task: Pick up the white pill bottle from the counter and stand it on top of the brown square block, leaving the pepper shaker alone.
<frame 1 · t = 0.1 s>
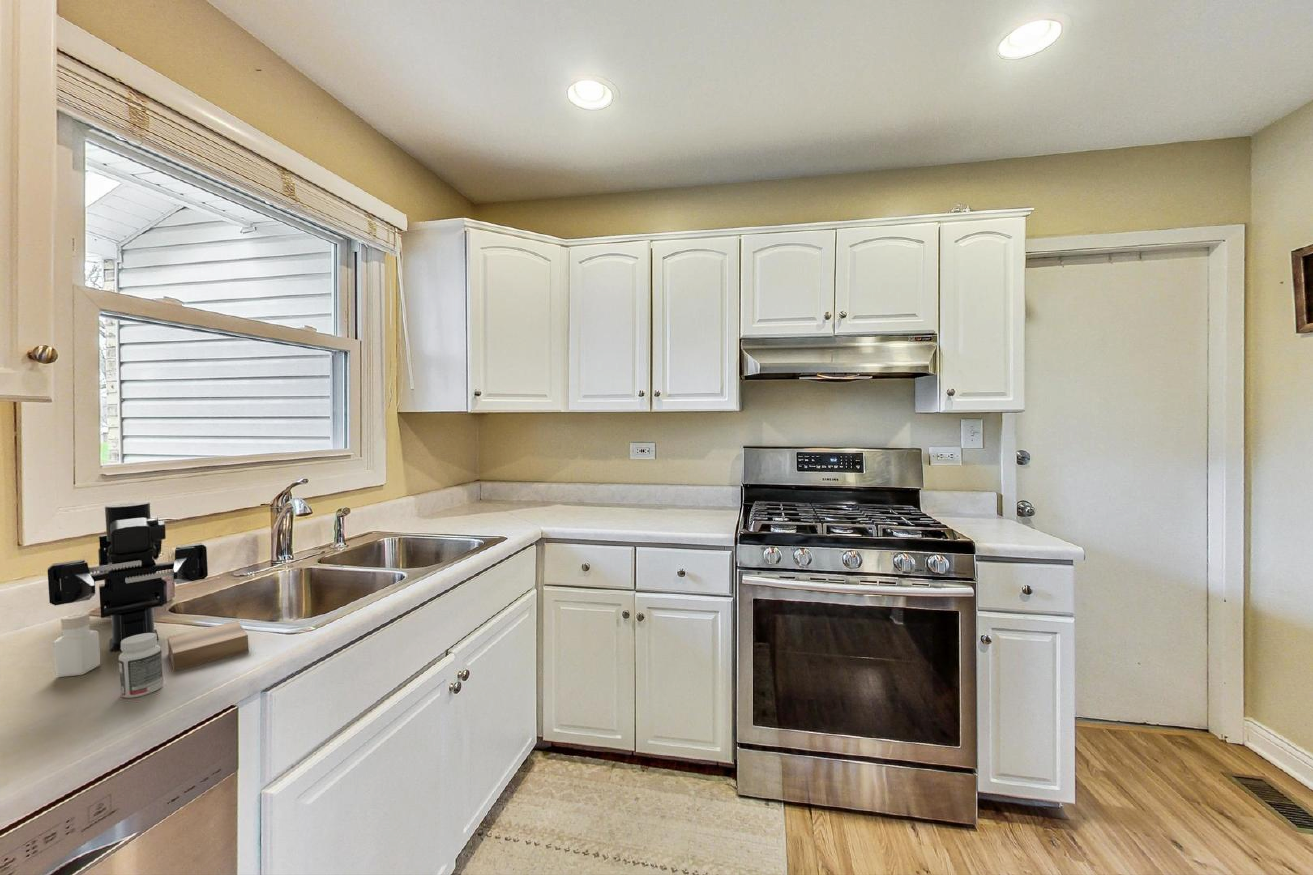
hand: (136, 582, 83), 17 cm above the countertop, tool horizontal, fingers open, 9 cm apart
pill bottle: (142, 691, 83), on the countertop
brown square block: (208, 652, 96), on the countertop
pepper shaker: (78, 672, 90), on the countertop
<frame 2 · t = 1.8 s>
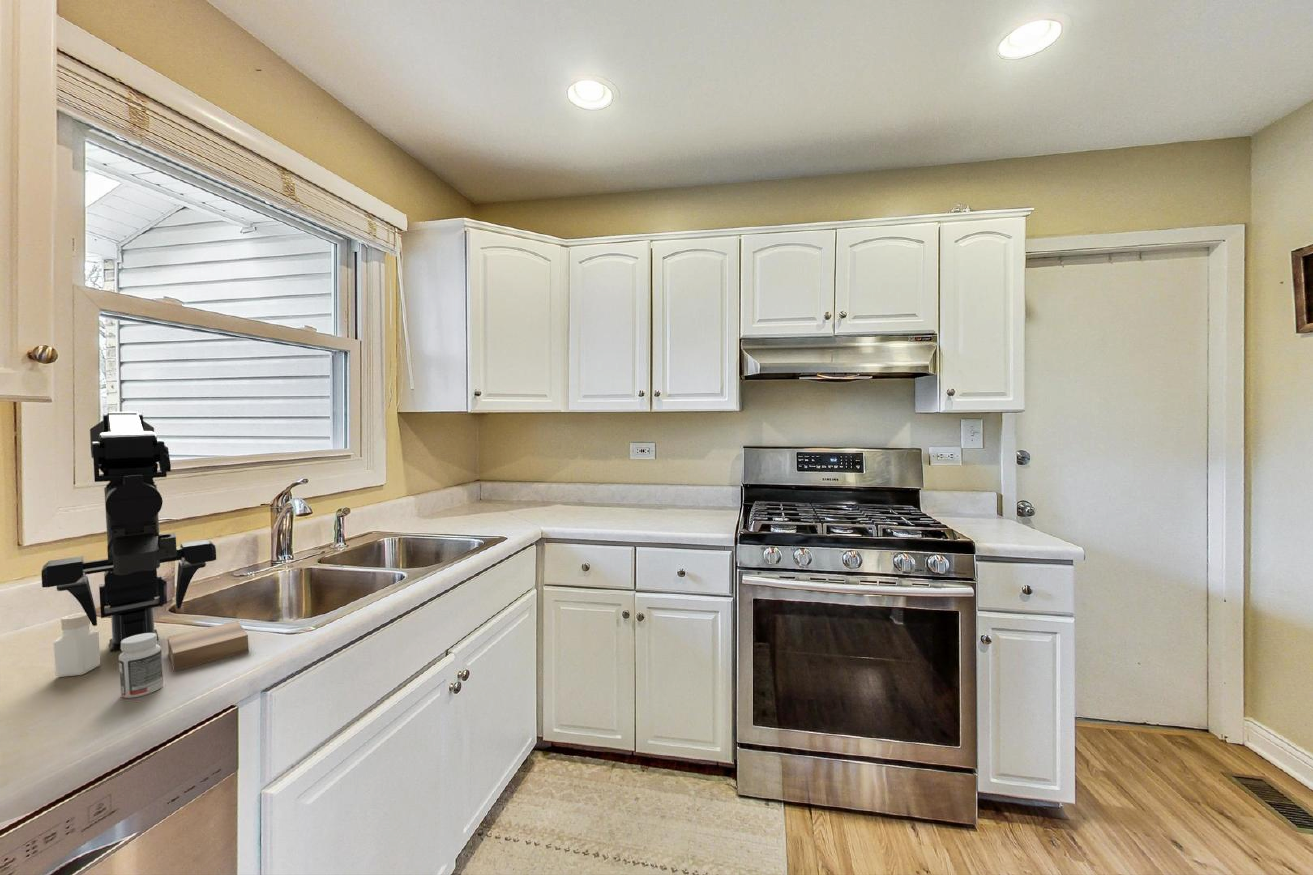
hand: (138, 616, 83), 12 cm above the countertop, tool pointing down, fingers open, 9 cm apart
nothing on the countertop moved.
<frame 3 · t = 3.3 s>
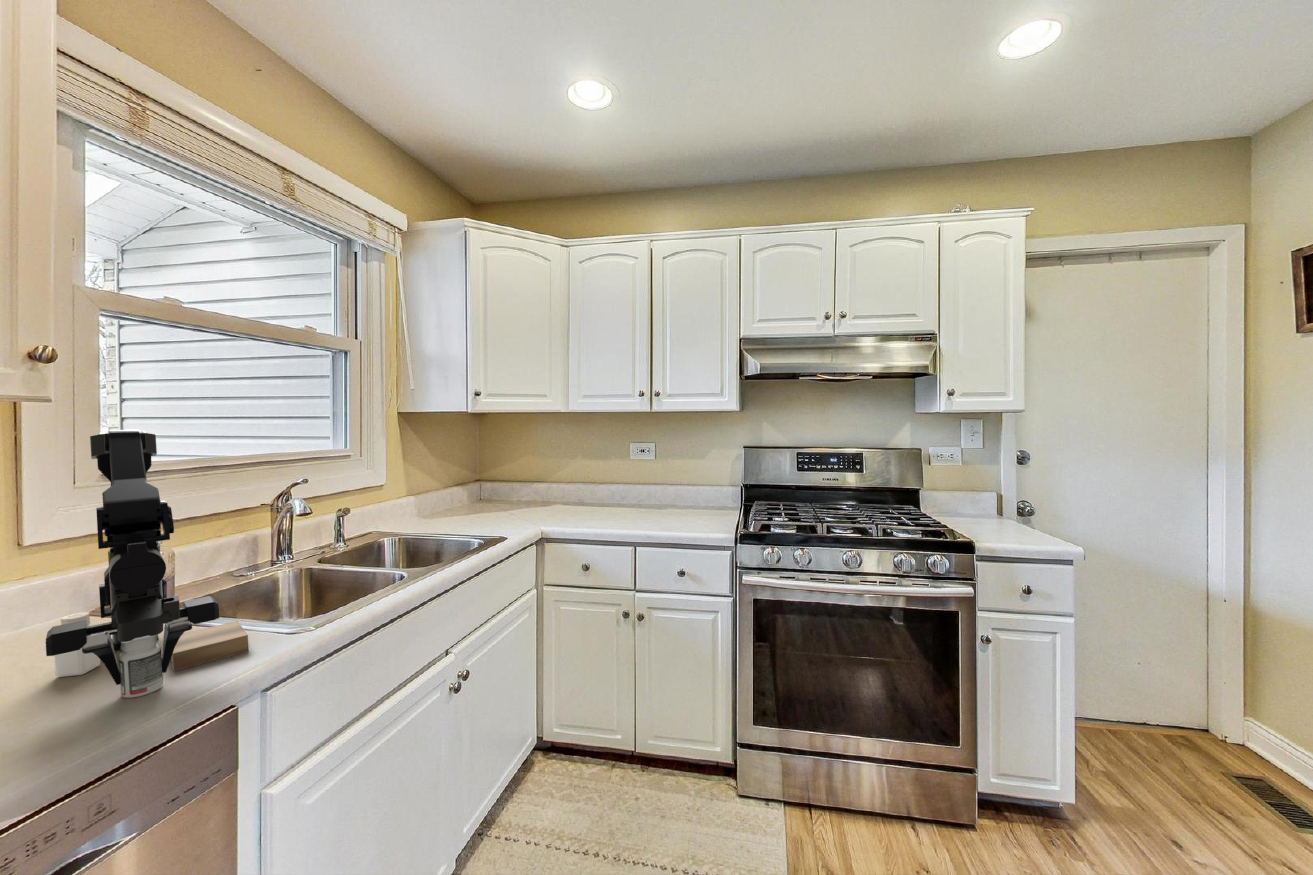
hand: (141, 677, 83), 2 cm above the countertop, tool pointing down, fingers closed on pill bottle, 5 cm apart
pill bottle: (142, 691, 83), on the countertop, touching gripper
everything else where it was.
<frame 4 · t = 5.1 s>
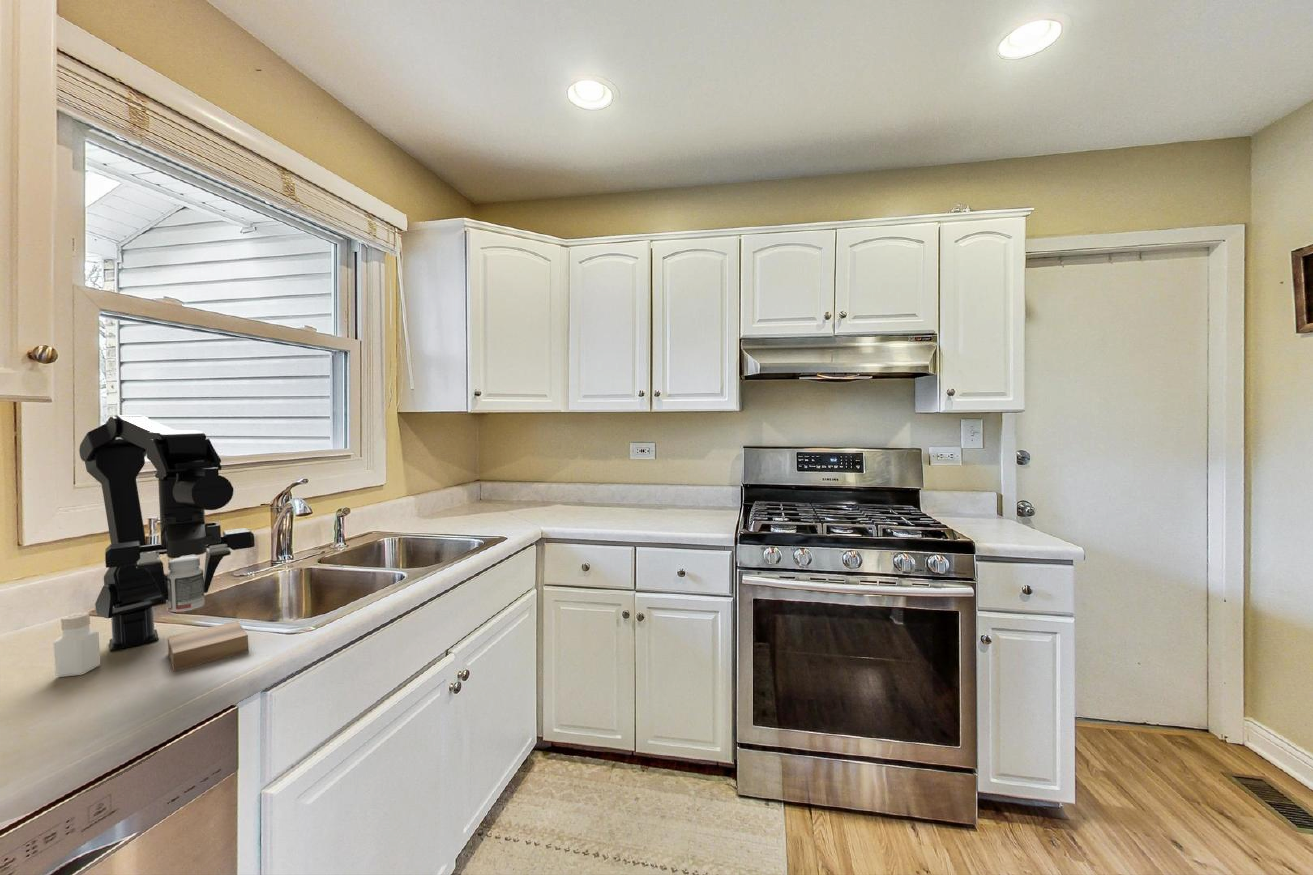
hand: (186, 595, 92), 12 cm above the countertop, tool pointing down, fingers closed on pill bottle, 5 cm apart
pill bottle: (186, 608, 92), point 9 cm above the countertop, touching gripper
everything else where it was.
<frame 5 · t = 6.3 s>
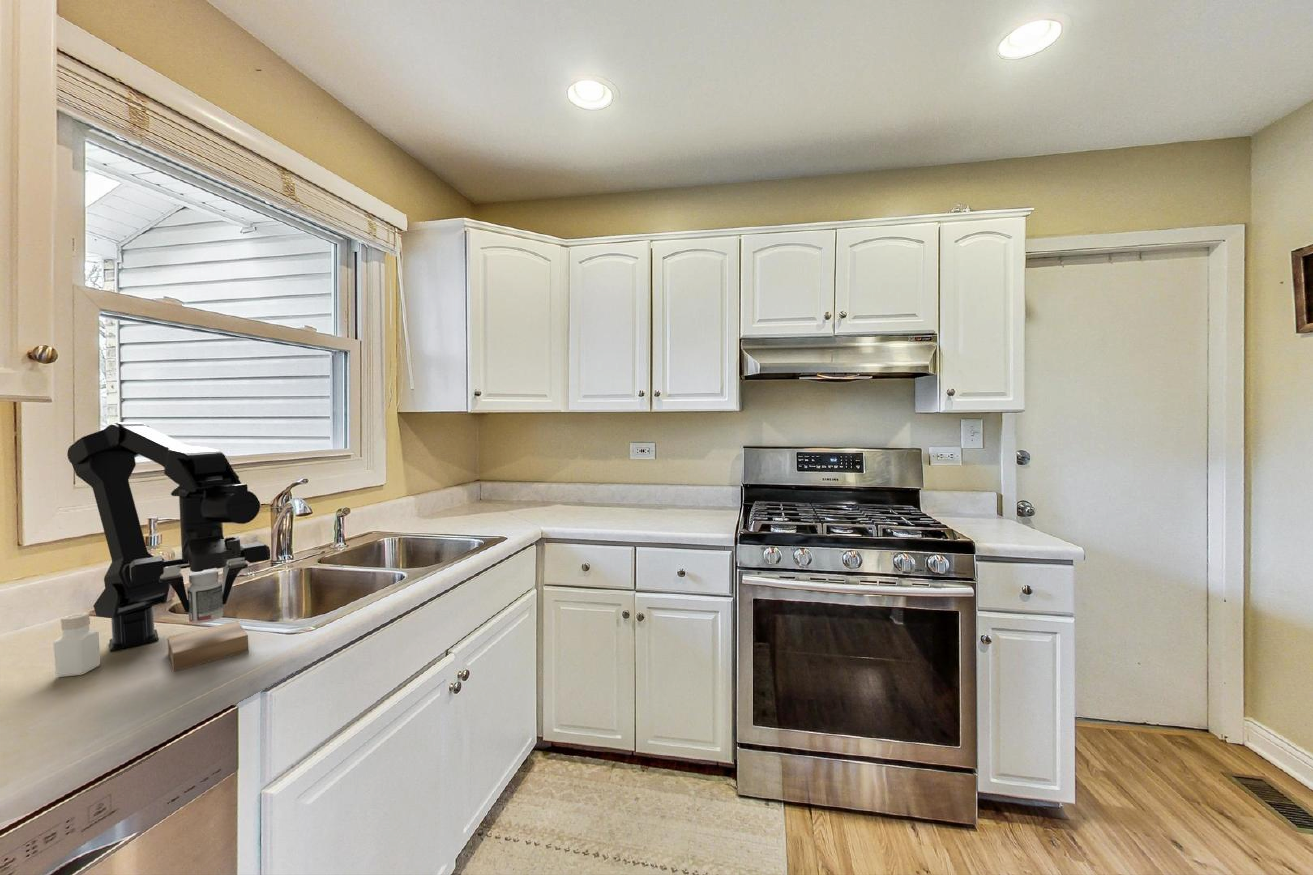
hand: (205, 607, 96), 8 cm above the countertop, tool pointing down, fingers closed on pill bottle, 5 cm apart
pill bottle: (206, 619, 96), point 6 cm above the countertop, touching gripper
everything else where it was.
when the fingers open (6 cm above the countertop, at t = 7.2 s): pill bottle stays where it is, resting on brown square block.
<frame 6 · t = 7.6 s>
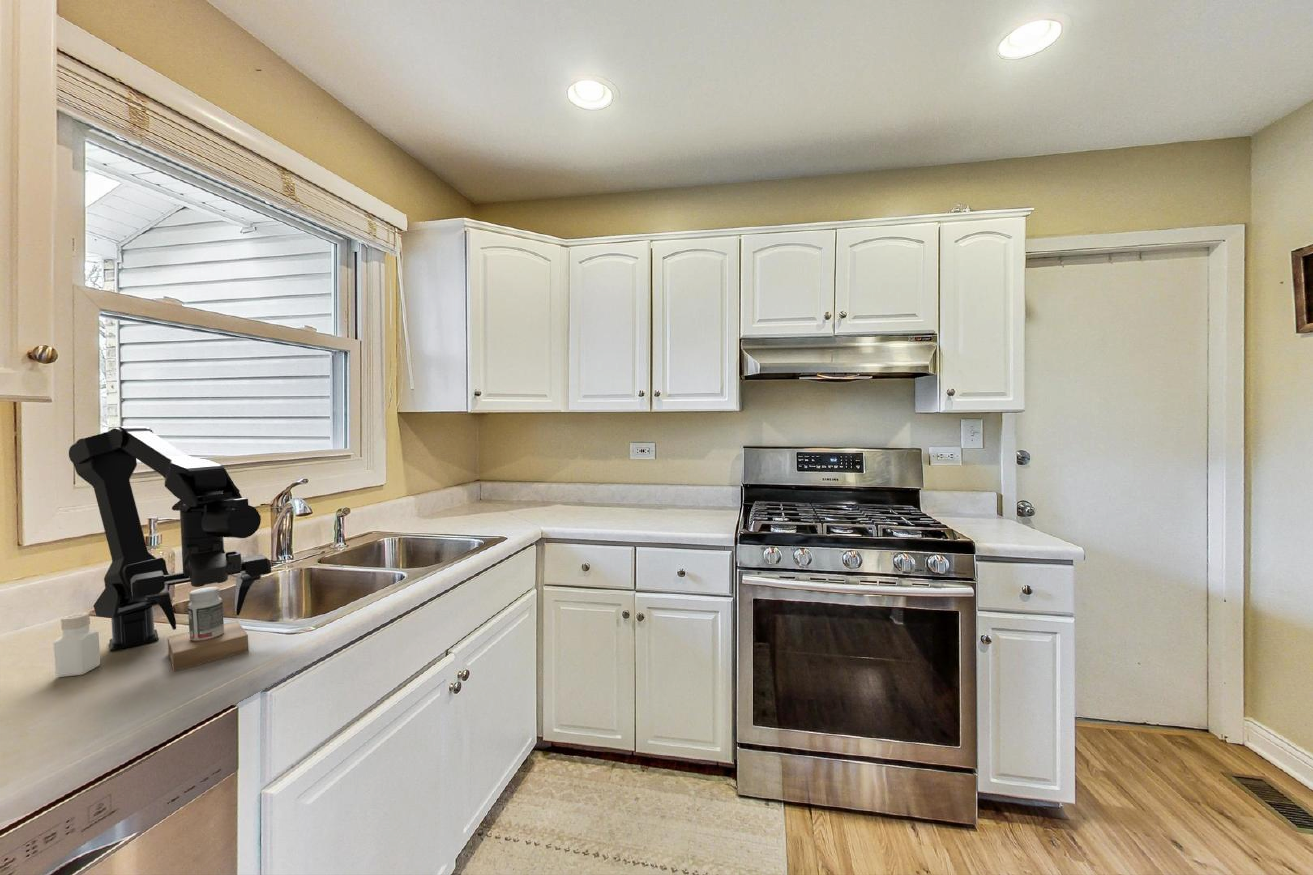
hand: (206, 621, 96), 6 cm above the countertop, tool pointing down, fingers open, 8 cm apart
pill bottle: (207, 637, 96), point 3 cm above the countertop, touching brown square block
everything else where it was.
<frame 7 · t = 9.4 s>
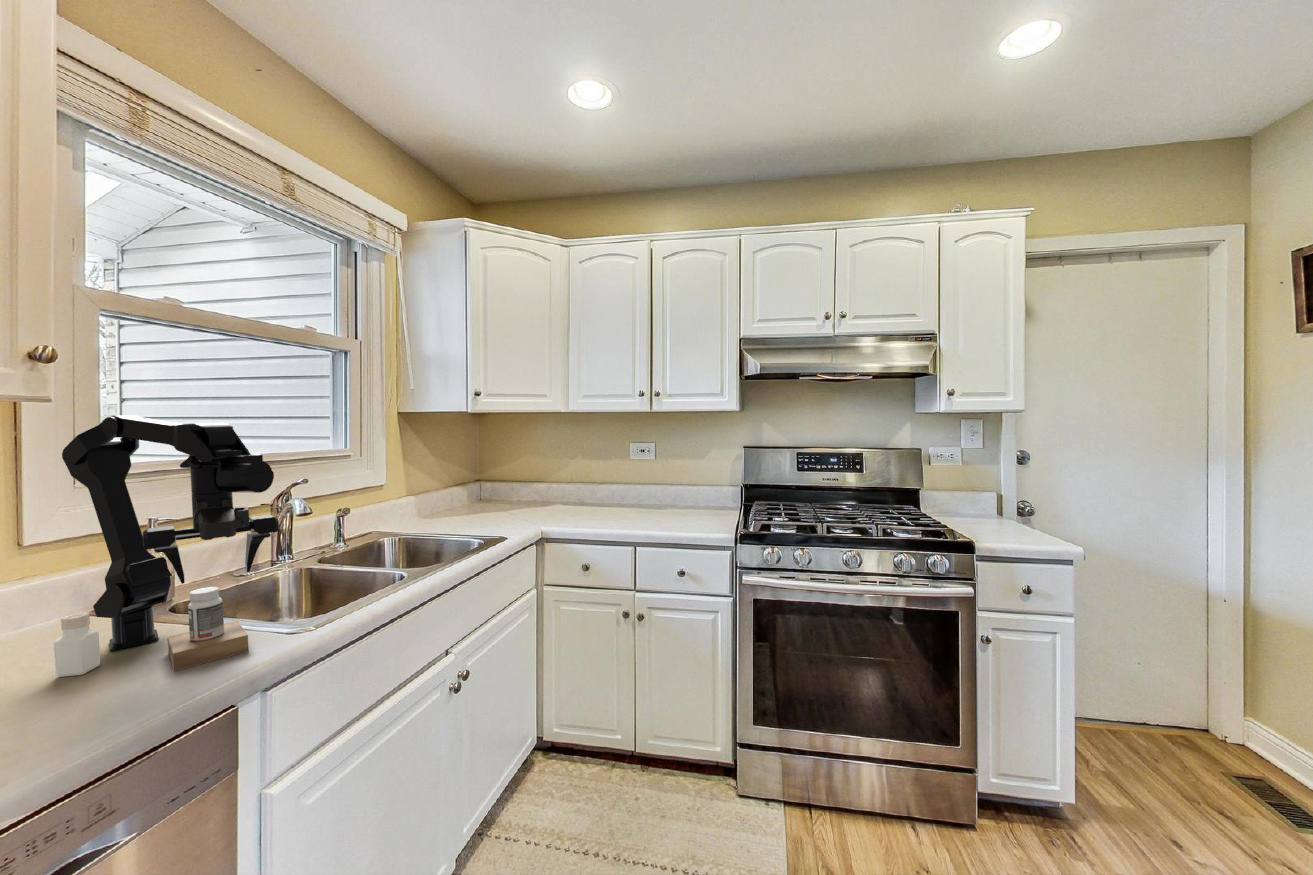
hand: (216, 577, 98), 13 cm above the countertop, tool pointing down, fingers open, 9 cm apart
nothing on the countertop moved.
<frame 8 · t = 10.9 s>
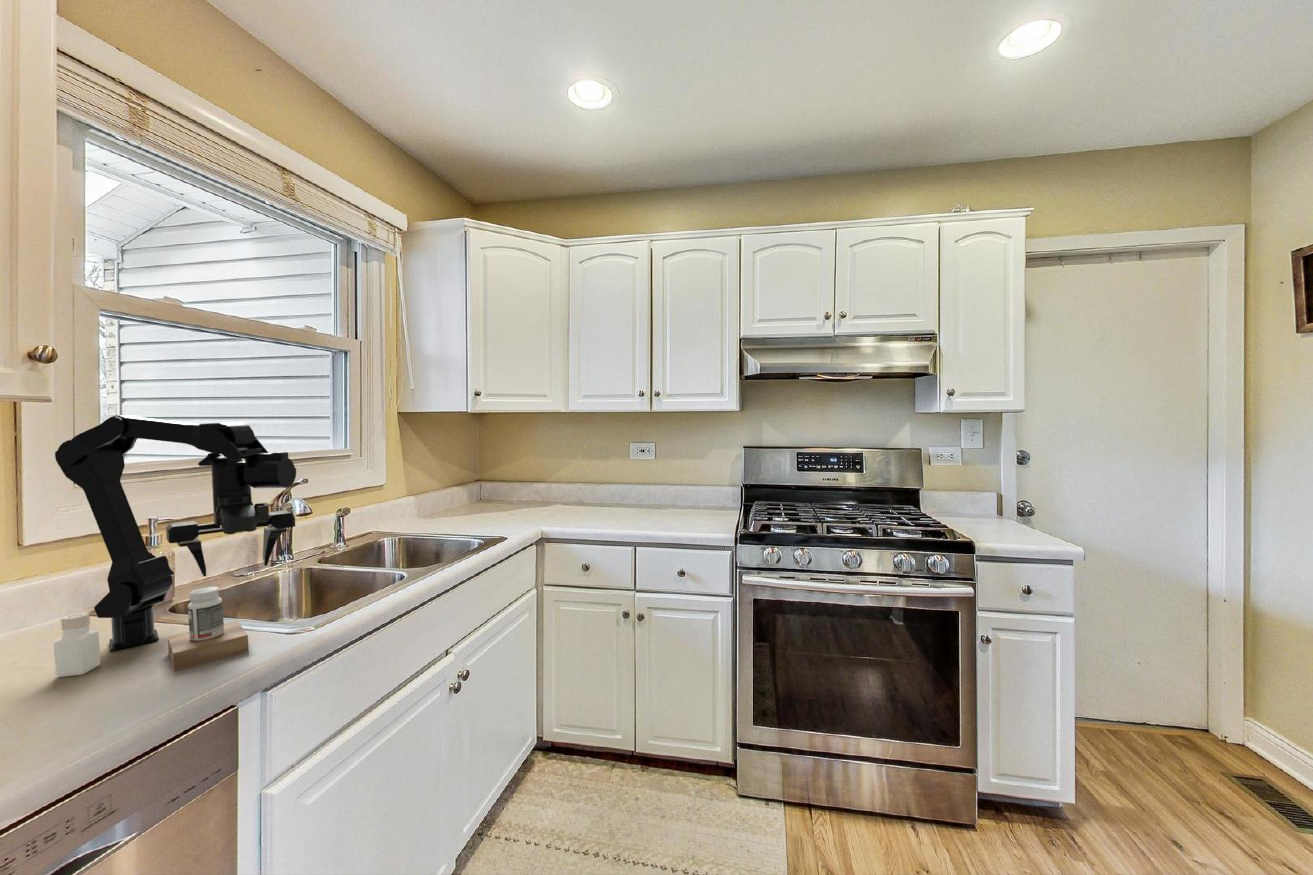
hand: (235, 570, 102), 13 cm above the countertop, tool pointing down, fingers open, 9 cm apart
nothing on the countertop moved.
at the end: pill bottle inside the target area on the brown square block (0.1 cm from its centre), point 2.8 cm above the brown square block's base; pill bottle tilted 0°; the gripper is holding nothing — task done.
